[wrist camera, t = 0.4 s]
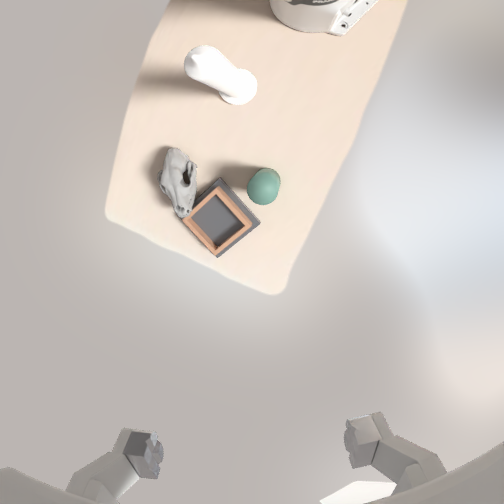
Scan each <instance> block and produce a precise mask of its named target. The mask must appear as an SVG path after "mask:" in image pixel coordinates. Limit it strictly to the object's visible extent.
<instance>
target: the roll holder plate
mask: <svg viewBox="0 0 504 504" xmlns="http://www.w3.org/2000/svg"><path fill="white" fill-rule="evenodd" d="M192 210H193V211H191V213H190V215H189V216H188V217H183V218H181V217H180V218H181V219H182V221H183V222H184V223H185V224H186V225H187V226H188V227H189V228H190V229H191V231H192V232H193V233H194V234H195V235H196V236H197V237H198V238H199V239H200V240H201V241H202V242H203V243H204V244H205V246H206V247H207V248H208V249H209V250H210V251H211V252H212V253H213V254H214V255H215V256H216V257H217V258H218V257H220V256H221V255H222V254H223V253H225V252H226V251H227V250H228V249H229V248H231V247H232V246H233V245H234V244H236V243H237V242H238V241H239V240H241V239H242V238H243V237H244V236H246V235H247V234H248V233H249V232H251V231H252V230H253V229H254V228H256V227H257V226H258V225H259V224H260V223H261V222H260V221H259V220H258V219H257V218H256V216H255V215H254V214H253V213H252V212H251V211H250V210H249V209H248V207H247V206H246V205H245V204H244V203H243V202H242V201H241V200H240V199H239V197H238V196H237V195H236V194H235V193H234V192H233V191H232V190H231V189H230V187H229V186H228V185H227V184H226V183H225V182H224V181H223V180H222V179H221V178H219V179H218V180H217V181H216V182H215V183H214V184H213V185H211V186H210V187H209V188H208V189H207V190H206V191H205V192H204V193H203V194H202V195H201V196H200V197H199V198H198V199H197V200H195V201H194V203H193V206H192Z"/></svg>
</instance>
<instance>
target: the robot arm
mask: <svg viewBox="0 0 504 504" xmlns="http://www.w3.org/2000/svg"><path fill="white" fill-rule="evenodd" d="M378 1H379V0H270V6H271V9H272V11H273V13H274V15H275V16H276V17H277V18H278V19H279V20H280V21H281V22H282V23H284V24H285V25H287V26H289V27H291V28H293V29H296V30H299V31H303V32H311V33H317V32H326V33H330V34H333V35H336V36H344V35H345V34H346V33H347V32H348V31H349V30H350V29H351V28H352V27H353V26H354V25H355V24H356V23H357V22H358V21H359V20H360V19H361V18H362V17H363V16H364V15H365V14H366V13H367V12H368V11H369V10H370V9H371V8H372V7H373V6H374V5H375V4H376V3H377V2H378ZM341 25H344V26H345V28H343V27H342V26H341ZM346 427H347V430H346V431H345V433H344V443H345V447H346V450H347V451H348V452H350V455H349V459H350V462H351V465H352V468H353V469H354V468H358V467H363V466H367V465H371V464H372V466H373V467H374V468H376V469H377V470H378V471H380V472H381V473H383V474H384V475H385V476H387V477H388V478H389V479H391V480H392V481H393V482H395V483H396V484H397V486H396V487H395V489H394V491H393V493H392V494H391V496H388V497H385V498H382V499H379V500H375V501H372V502H368V503H364V504H504V442H502V443H500V444H499V445H497V446H496V447H494V448H492V449H491V450H489V451H487V452H486V453H484V454H482V455H481V456H479V457H477V458H475V459H474V460H472V461H470V462H468V463H466V464H464V465H462V466H461V467H459V468H457V469H455V470H453V471H450V472H449V473H447V471H446V470H445V468H444V466H443V464H442V463H441V461H440V459H439V458H438V456H437V454H435V453H433V452H430V451H428V450H426V449H424V448H422V447H420V446H418V445H416V444H414V443H412V442H410V441H408V440H406V439H404V438H402V437H400V436H397V435H396V436H394V435H393V433H392V431H391V429H390V427H389V425H388V424H387V422H386V419H385V418H384V416H383V414H382V413H381V412H377V413H373V414H369V415H364V416H360V417H356V418H352V419H347V421H346ZM157 438H158V436H157V434H156V432H152V431H144V430H136V429H127V428H123V429H122V430H121V432H120V434H119V437H118V439H117V441H116V443H115V446H114V448H113V450H112V452H108V453H106V454H105V455H103V456H101V457H100V458H98V459H97V460H95V461H94V462H92V463H90V464H89V465H87V466H85V467H84V468H82V469H80V470H79V471H77V472H75V473H74V474H73V476H72V478H71V480H70V482H69V484H68V486H67V489H66V491H63V490H61V489H58V488H55V487H53V486H50V485H48V484H46V483H43V482H41V481H38V480H36V479H34V478H32V477H30V476H27V475H25V474H24V473H21V472H20V471H18V470H16V469H13V468H10V467H7V468H3V469H0V504H120V503H119V502H118V501H117V500H116V499H117V498H119V497H120V496H121V495H122V494H123V493H124V492H125V491H127V490H128V489H129V488H130V487H131V486H132V485H133V484H134V483H135V482H136V481H138V479H140V477H141V478H150V479H157V478H158V475H159V471H160V467H159V465H158V464H159V463H160V462H162V460H163V447H162V444H161V443H160V442H159V441H158V440H157Z"/></svg>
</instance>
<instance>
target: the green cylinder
mask: <svg viewBox="0 0 504 504" xmlns="http://www.w3.org/2000/svg"><path fill="white" fill-rule="evenodd" d="M279 187H280V177H279V175H278V173H277V172H276V171H275V170H273V169H270V168H264V169H261V170H259V171H258V172H257V173H256V174H255V175H254V176H253V177H252V179H251V180H250V181H249V183H248V185H247V193H248V196H249V198H250V199H251V200H252V201H253V202H254V203H256V204H259V205H267V204H269V203H271V202H273V201H274V200H275V198H276V197H277V194H278V190H279Z"/></svg>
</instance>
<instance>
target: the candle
mask: <svg viewBox="0 0 504 504" xmlns="http://www.w3.org/2000/svg"><path fill="white" fill-rule="evenodd" d="M184 69H185V72H186V73H187V75H188V76H189V77H191V78H192V79H194V80H197V81H199V82H201V83H203V84H206V85H208V86H210V87H212V88H214V89H217V90H218V91H219V94H220V96H221V97H222V98H223V99H224V100H225V101H226V102H228V103H230V104H235V105H240V104H244V103H246V102H248V101H250V100H251V99H252V98H253V97H254V95H255V93H256V91H257V81H256V79H255V77H254V76H253V74H252V73H250V72H249V71H247V70H245V69H240V68H236V67H235V66H234V65H233V64H232V63H231V62H230V61H229V60H228V59H227V58H226V57H225V56H223V55H222V54H221V53H220V52H219V51H218V50H217V49H216V48H214V47H212V46H208V45H203V46H198V47H196V48H194V49H192V50H191V51H190V52H189V53H188V54H187V56H186V58H185V61H184Z"/></svg>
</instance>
